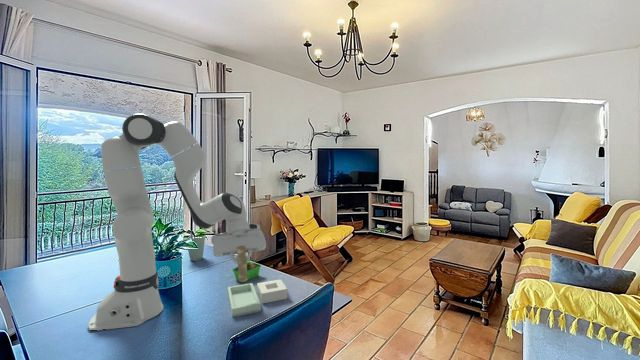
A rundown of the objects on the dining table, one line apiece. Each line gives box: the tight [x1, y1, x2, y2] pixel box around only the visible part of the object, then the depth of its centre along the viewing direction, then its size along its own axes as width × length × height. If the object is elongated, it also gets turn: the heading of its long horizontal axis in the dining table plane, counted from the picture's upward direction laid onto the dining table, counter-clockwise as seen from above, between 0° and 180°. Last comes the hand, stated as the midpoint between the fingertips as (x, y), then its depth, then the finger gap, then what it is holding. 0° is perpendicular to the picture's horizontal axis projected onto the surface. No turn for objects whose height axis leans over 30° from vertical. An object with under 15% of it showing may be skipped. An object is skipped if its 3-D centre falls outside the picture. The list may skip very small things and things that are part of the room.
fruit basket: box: [232, 255, 262, 283], centre depth 139 cm, size 11×9×11 cm
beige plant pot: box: [187, 236, 206, 262], centre depth 165 cm, size 11×11×15 cm
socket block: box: [256, 278, 288, 304], centre depth 121 cm, size 10×10×4 cm
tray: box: [227, 282, 262, 318], centre depth 116 cm, size 10×19×3 cm, turn 21°
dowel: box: [236, 246, 248, 283], centre depth 115 cm, size 3×3×13 cm
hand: (242, 262), depth 114 cm, fingers closed on dowel, 3 cm apart
